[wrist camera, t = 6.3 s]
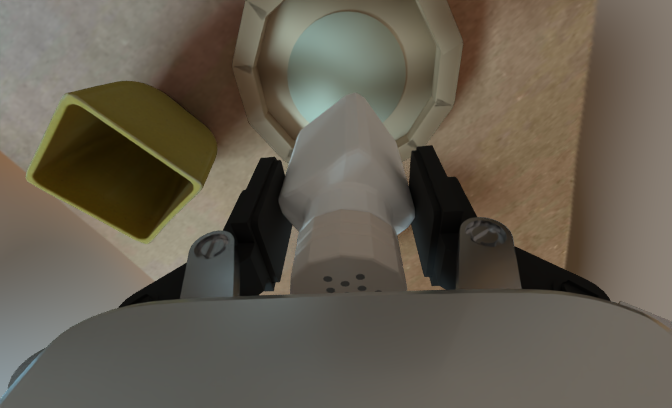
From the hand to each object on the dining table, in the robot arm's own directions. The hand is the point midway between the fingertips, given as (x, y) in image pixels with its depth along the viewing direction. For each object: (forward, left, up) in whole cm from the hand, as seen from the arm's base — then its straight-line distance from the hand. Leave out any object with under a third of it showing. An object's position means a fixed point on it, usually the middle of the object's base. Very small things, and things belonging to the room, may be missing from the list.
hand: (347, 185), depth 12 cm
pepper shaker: (0, 0, -5) cm, 5 cm away
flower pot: (+3, -16, -15) cm, 22 cm away
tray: (0, 0, -15) cm, 15 cm away
